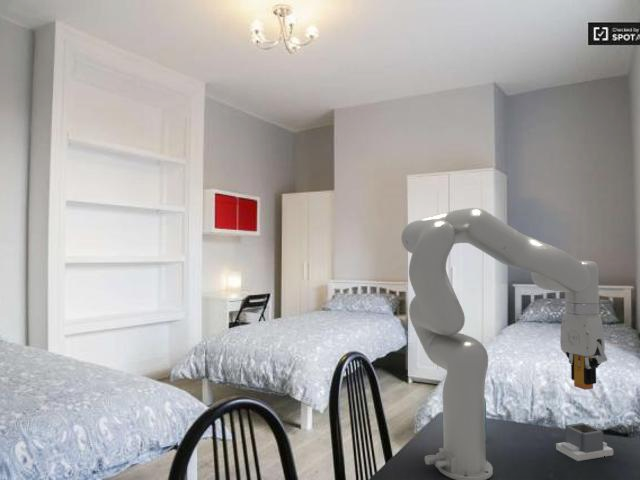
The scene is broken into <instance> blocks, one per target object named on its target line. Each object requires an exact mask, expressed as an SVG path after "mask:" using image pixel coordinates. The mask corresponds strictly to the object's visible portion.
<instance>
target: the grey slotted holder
mask: <svg viewBox="0 0 640 480" xmlns="http://www.w3.org/2000/svg"><path fill="white" fill-rule="evenodd" d="M555 450H556V451H559V452H560V453H562V454H564V455H566V456H568V457H569V458H572V459H573V460H575V461H576V462H581V461H586V460H592V459H597V458H604V456H605V457H609V456H610V457H611V456H614V449H613V448H612V447H610V446H608V443H607V442H605V441H604V431H602V430H601V429H599V428H598V427H594V426H593V425H590V424H588V423H584V422H578V423H571V424H565V441H564V442H558V443H557V442H556V443H555Z"/></svg>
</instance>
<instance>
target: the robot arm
mask: <svg viewBox="0 0 640 480" xmlns="http://www.w3.org/2000/svg"><path fill="white" fill-rule="evenodd" d="M400 239H401V243H402V246H403V247H404V249H405V250H406V251H407V252H408V253H410V254H411V257H410V261H409V267H408V275H409V277H408V278H409V281H410V285H411V287H412V289H413V292H414V294H415V296H414V297H413V298H412V299H411V301H410V303H409V308H408V309H409V310H408V312H409V313H408V314H409V319H410V322H411V325H412V327H413V329H414V331H415V333H416V336H417V337H418V339H419V342H420V344H421V346H422V349H423V350H424V352H425V355H426V356H427V357H428V359H429V360H430V361H431V362H432V363H433V364H435V365H436V366H438V367H440V368H442V369H444V370H446V377H445V379H444V383H443V385H442V433H443V435H442V436H443V443H442V444H443V447H439V452H437V453H436V454H429V455H428V454H427V455H425V456H424V462H425V464H426V465H434V466H435V467H436V468H437V469H438V471H439V472H440V473H441V474H442V475H444V476H445V477H447V478H450V479H452V480H488V479H489V478H491V477H492V476H493V473H494V471H493V470H494V467H493V465H492V464H491V463H490V461H489V460H487V459H486V440H485V400H486V397H485V390H486V379H487V372H488V366H489V354H488V351H487V349H486V348H485V346H484V345H483V343H481V342H480V341H479V340H477V338H474V337H472V336H470V335H467V334H463V333H461V331H462V330H463V328H464V326H465V319H466V318H465V317H466V316H465V312H464V310H463V308H462V305H461V303H460V301H459V299H458V297H457V295H456V292H455V290H454V288H453V286H452V283H451V281H450V279H449V276H448V273H447V261H448V257H449V256H450V252H452V249H453V247H454V245H456V244H470V245H472V246H474V247H475V248H476V249H478V250H480V251H481V252H483V253H485V254H486V255H488V256H490V257H492V258H493V259H495V260H496V261H498V262H499V263H501V264H503V265H505V266H509V267H511V268H515V269H518V270H519V269H520V270H523V271H529V272H531V274H530V276H531V277H530V278H531V279H532V282H533V283H534V285H535V286H537V287H539V288H540V289H542V290H546V291H547V290H548V291H554V292H563V293H564V300H565V302H564V304H563V305H564V307H565V308H564V309H565V311H564V312H563V313H562V318H561V325H560V336H559V337H560V350H561V351H562V352H563V353H564V354H565V356H566V357H567V358H568V363H569V364H570V373H571V374H570V375H571V380H572V381H574V354H576V355H580V356H583V357H585V365H586V368H584V383H585V384H586V385H589V384H593V385H595V384H596V383H597V369H598V368H599V366H600V365H601V364H602V363H605V362H607V361H608V357H607V355H606V353H605V350H606V349H605V348H606V346H605V332H604V327H603V322H602V317H601V316H600V300H599V299H600V298H599V297H600V295H599V292H600V291H599V266H598V264H597V262H595V261H593V260H592V261H591V260H578V259H577V258H576V257H574V256H572V255H571V254H569V253H568V252H566V251H564V250H562V249H560V248H558V247H555V246H553V245H550V244H549V243H546V242H542V241H540V240H538V239H536V238H534V237H531V236H528V235H526V234H523V233H522V232H520V231H518V230H517V229H515V228H513V227H512V226H510V225H508V224H507V223H505V222H504V221H502V220H501V219H499V218H498V217H496V216H494V215H493V214H491V213H490V212H488V211H486V210H484V209H482V208H478V207H469V208H463V209H456V210H452V211H448V212H445V213H441V214H436V215H434V216H429V217H426V218H423V219H418V220H414V221H412V222H409V223H408V224H407V225H406V226H405V227H404V228H403V230H402V232H401V238H400ZM590 358H592V361H590Z"/></svg>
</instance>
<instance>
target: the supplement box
mask: <svg viewBox="0 0 640 480" xmlns="http://www.w3.org/2000/svg"><path fill="white" fill-rule="evenodd" d="M590 361H592V358H590ZM584 368H586V365H585V357H583V356H580V355H576V354H574V380H573V386H574V387H576V388H578V389H582V390H584V391H585V390H593V389H594V384H589V385H586V384H585V383H584Z"/></svg>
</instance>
